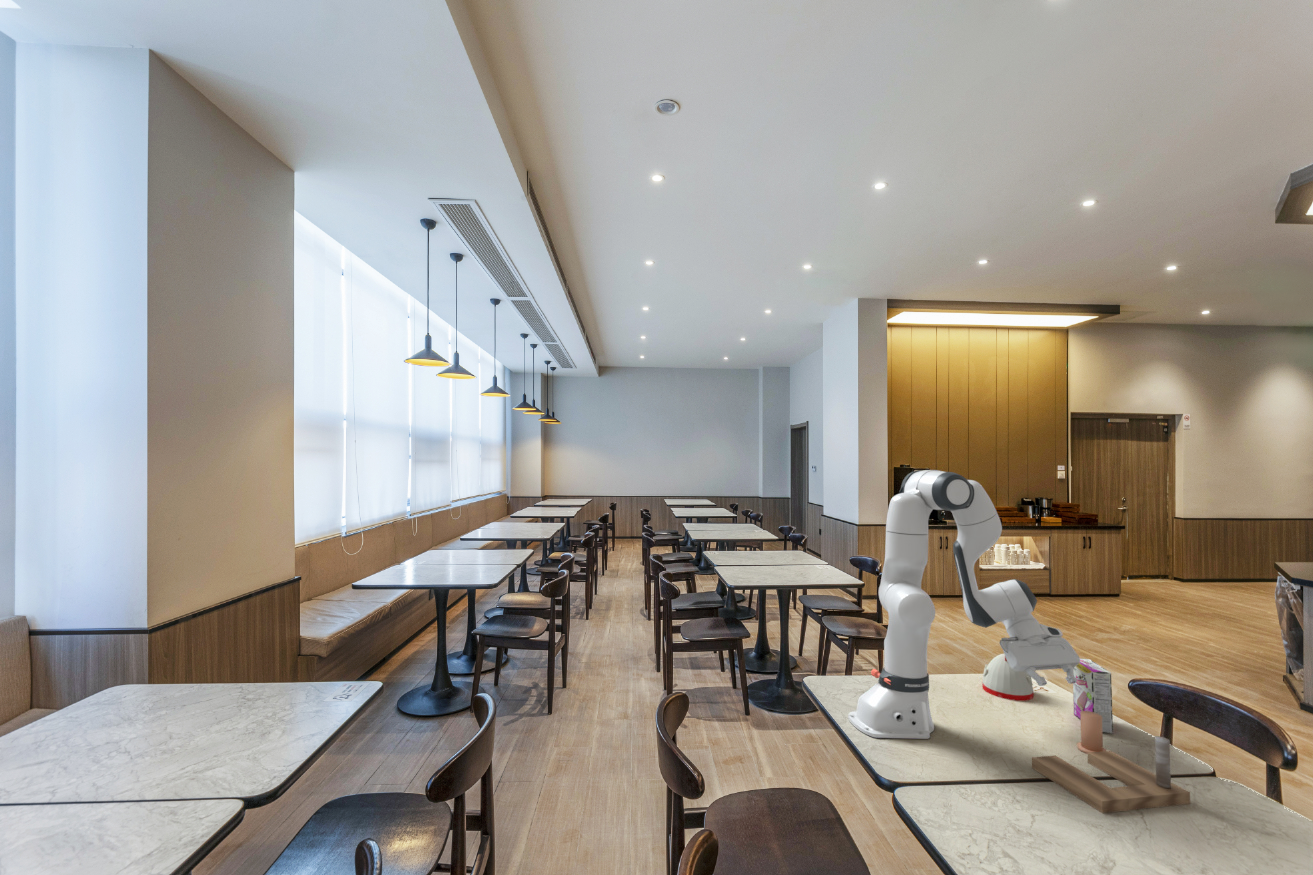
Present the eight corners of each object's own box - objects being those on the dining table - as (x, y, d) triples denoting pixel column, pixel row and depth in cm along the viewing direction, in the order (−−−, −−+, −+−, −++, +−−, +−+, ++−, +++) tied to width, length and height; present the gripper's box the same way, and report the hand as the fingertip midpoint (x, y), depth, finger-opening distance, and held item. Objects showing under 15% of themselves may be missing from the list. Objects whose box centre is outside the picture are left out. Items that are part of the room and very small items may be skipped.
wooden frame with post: (1102, 812, 120) (1100, 751, 120) (1032, 767, 137) (1031, 714, 138) (1190, 803, 123) (1188, 744, 124) (1110, 760, 141) (1109, 709, 142)
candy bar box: (1072, 714, 167) (1071, 657, 168) (1091, 716, 166) (1090, 658, 167) (1093, 732, 156) (1091, 670, 157) (1114, 734, 155) (1112, 672, 156)
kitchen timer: (1033, 689, 186) (1032, 642, 186) (1033, 704, 174) (1032, 654, 175) (983, 680, 193) (983, 635, 194) (981, 694, 182) (980, 645, 182)
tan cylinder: (1092, 757, 143) (1091, 720, 143) (1071, 745, 148) (1070, 710, 149) (1113, 755, 144) (1112, 718, 144) (1091, 744, 149) (1090, 708, 150)
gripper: (1002, 632, 162) (1031, 680, 152) (1065, 629, 166) (1097, 676, 156) (991, 643, 167) (1018, 691, 156) (1052, 640, 170) (1083, 686, 160)
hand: (1058, 683), depth 156 cm, fingers open, 8 cm apart
